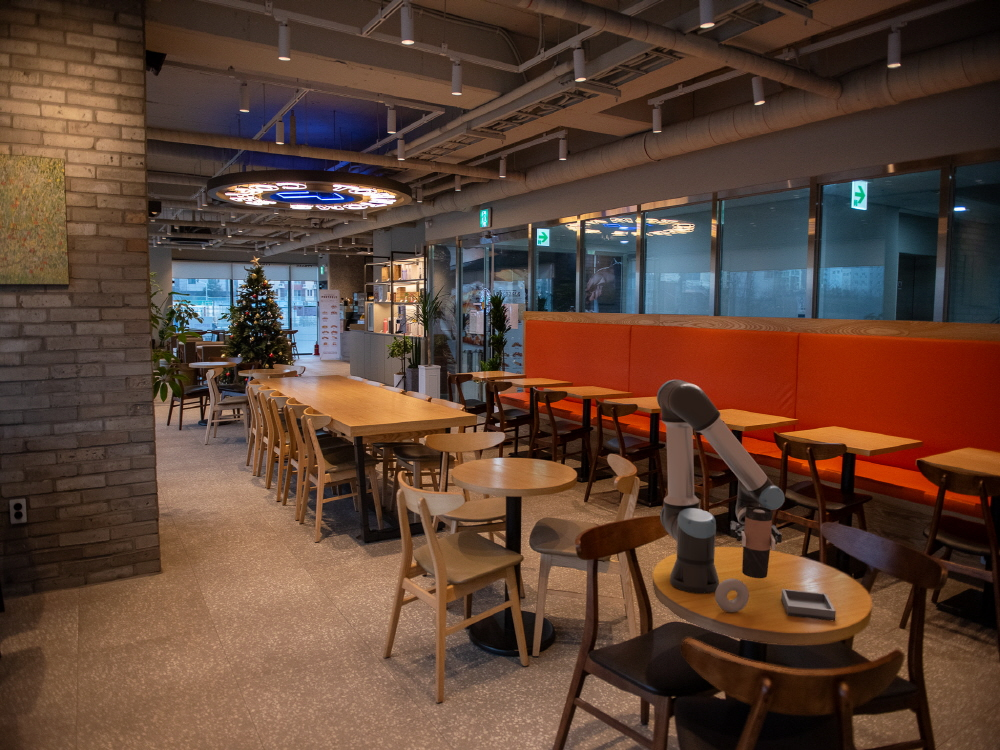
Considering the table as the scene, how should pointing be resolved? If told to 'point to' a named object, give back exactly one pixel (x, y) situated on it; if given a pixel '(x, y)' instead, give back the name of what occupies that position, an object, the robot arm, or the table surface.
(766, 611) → the table surface
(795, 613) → the tray
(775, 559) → the table surface
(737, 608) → the donut
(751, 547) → the travel mug
